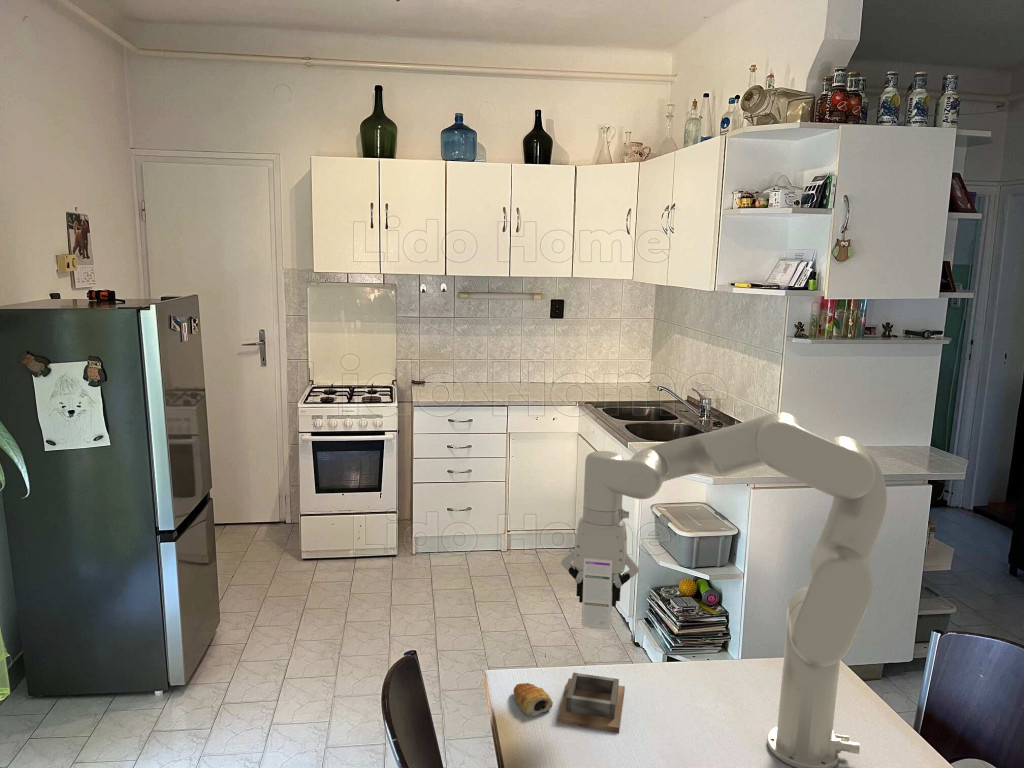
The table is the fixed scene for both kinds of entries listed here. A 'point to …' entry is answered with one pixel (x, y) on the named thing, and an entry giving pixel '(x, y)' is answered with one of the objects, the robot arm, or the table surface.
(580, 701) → the socket stand
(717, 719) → the table surface
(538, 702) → the pastry
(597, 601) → the syrup box
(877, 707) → the table surface
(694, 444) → the robot arm
